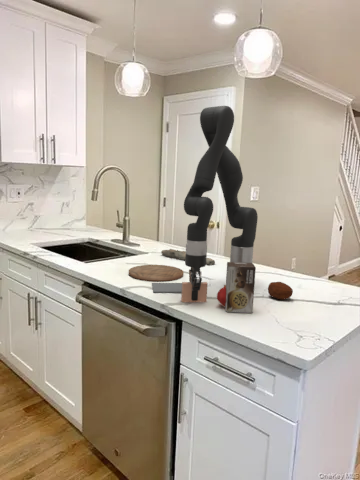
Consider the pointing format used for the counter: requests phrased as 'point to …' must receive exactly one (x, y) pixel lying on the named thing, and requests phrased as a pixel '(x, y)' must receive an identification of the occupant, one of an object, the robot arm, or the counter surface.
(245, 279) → the coffee box
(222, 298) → the pomegranate
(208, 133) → the robot arm
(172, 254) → the elongated rock
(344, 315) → the counter surface
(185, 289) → the tile
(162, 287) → the mat
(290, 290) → the potato
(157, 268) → the trivet
